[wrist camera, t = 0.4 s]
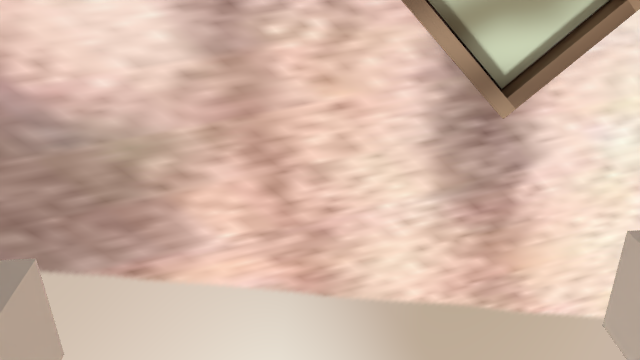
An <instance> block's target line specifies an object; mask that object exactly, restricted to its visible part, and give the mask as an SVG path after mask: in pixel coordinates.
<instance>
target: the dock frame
mask: <svg viewBox="0 0 640 360" xmlns="http://www.w3.org/2000/svg"><path fill="white" fill-rule="evenodd" d="M402 1H403V3H404V4H405V5H406V6H407V7H408V9H409V10H410V11H411V12H412V13H413V14H414V16H415V17H416V18H417V19H418V20H419V21H420V23H421V24H422V25H423V26H424V27H425V28H426V30H427V31H428V32H429V33H430V34H431V35H432V37H433V38H434V39H435V40H436V41H437V43H438V44H439V45H440V46H441V47H442V48H443V50H444V51H445V52H446V53H447V54H448V55H449V57H450V58H451V59H452V60H453V61H454V62H455V64H456V65H457V66H458V67H459V68H460V69H461V71H462V72H463V73H464V74H465V75H466V77H467V78H468V79H469V80H470V81H471V82H472V84H473V85H474V86H475V87H476V88H477V89H478V91H479V92H480V93H481V94H482V95H483V96H484V98H485V99H486V100H487V101H488V102H489V103H490V105H491V106H492V107H493V108H494V109H495V111H496V112H497V113H498V114H499V115H500V116H501V117H502V118H503V119H504V118H505V117H506V116H508V115H509V114H510V113H511V112H513V111H514V110H515V109H516V108H518V107H519V106H520V105H521V104H522V103H524V102H525V101H526V100H527V99H529V98H530V97H531V96H532V95H534V94H535V93H536V92H537V91H539V90H540V89H541V88H542V87H544V86H545V85H546V84H547V83H549V82H550V81H551V80H552V79H553V78H555V77H556V76H557V75H558V74H560V73H561V72H562V71H563V70H565V69H566V68H567V67H568V66H570V65H571V64H572V63H573V62H575V61H576V60H577V59H578V58H579V57H581V56H582V55H583V54H584V53H586V52H587V51H588V50H589V49H591V48H592V47H593V46H594V45H596V44H597V43H598V42H599V41H601V40H602V39H603V38H604V37H605V36H607V35H608V34H609V33H610V32H612V31H613V30H614V29H615V28H617V27H618V26H619V25H620V24H622V23H623V22H624V21H625V20H627V19H628V18H629V17H630V16H632V15H633V14H634V13H635V12H636V11H638V10H639V9H640V0H610V1H609V0H428V1H429V2H430V3H431V5H432V6H433V7H434V8H435V9H436V11H437V12H438V13H439V14H440V15H441V17H442V18H443V19H444V20H445V21H446V23H447V24H448V25H449V26H450V27H451V29H452V30H453V31H454V32H455V33H456V35H457V36H458V37H459V38H460V39H461V41H462V42H463V43H464V44H465V45H466V47H467V48H468V49H469V50H470V52H471V53H472V54H473V55H474V56H475V58H476V59H477V60H478V61H479V62H480V64H481V65H482V66H483V67H484V68H485V70H486V71H487V72H488V73H489V74H490V76H491V77H492V78H493V79H494V80H495V82H496V83H497V84H498V85H499V86H500V88H503V87H504V86H506V85H507V84H508V83H509V82H510V83H509V84H508V85H507V86H506V87H504V88H503V89H502V90H501V91H500V90H499V88H498V87H497V86H496V85H495V84H494V82H493V81H492V80H491V79H490V78H489V76H488V75H487V74H486V73H485V72H484V70H483V69H482V68H481V67H480V66H479V64H478V63H477V62H476V61H475V60H474V58H473V57H472V56H471V55H470V54H469V52H468V51H467V50H466V49H465V48H464V46H463V45H462V44H461V43H460V42H459V40H458V39H457V38H456V37H455V36H454V34H453V33H452V32H451V31H450V30H449V28H448V27H447V26H446V25H445V24H444V22H443V21H442V20H441V19H440V18H439V16H438V15H437V14H436V13H435V12H434V10H433V9H432V8H431V7H430V6H429V5H428V3H427V2H426V1H425V0H402ZM607 1H609V2H607ZM606 2H607V3H606ZM605 3H606V4H605ZM604 4H605V5H604ZM603 5H604V6H603ZM601 6H603V7H601ZM600 7H601V8H600ZM599 8H600V9H599ZM598 9H599V10H598ZM596 10H598V11H597V12H595V11H596ZM594 12H595V13H594ZM593 13H594V14H593ZM592 14H593V15H592ZM590 15H592V16H590ZM589 16H590V17H589ZM588 17H589V18H588ZM587 18H588V19H587ZM586 19H587V20H586ZM584 20H586V21H584ZM583 21H584V22H583ZM582 22H583V23H582ZM581 23H582V24H581ZM580 24H581V25H580ZM578 25H580V26H578ZM577 26H578V27H577ZM576 27H577V28H576ZM575 28H576V29H575ZM573 29H575V30H573ZM572 30H573V31H572ZM571 31H572V32H571ZM570 32H571V33H570ZM569 33H570V34H569ZM567 34H569V35H567ZM566 35H567V36H566ZM565 36H566V37H565ZM564 37H565V38H564ZM563 38H564V39H563ZM561 39H563V40H561ZM560 40H561V41H560ZM559 41H560V42H559ZM558 42H559V43H558ZM557 43H558V44H557ZM555 44H557V45H555ZM554 45H555V46H554ZM553 46H554V47H553ZM552 47H553V48H552ZM550 48H552V49H550ZM549 49H550V50H549ZM548 50H549V51H548ZM547 51H548V52H547ZM546 52H547V53H546ZM544 53H546V54H544ZM543 54H544V55H543ZM542 55H543V56H542ZM541 56H542V57H541ZM540 57H541V58H540ZM538 58H540V59H538ZM537 59H538V60H537ZM536 60H537V61H536ZM535 61H536V62H535ZM534 62H535V63H534ZM532 63H533V64H532ZM531 64H532V65H531ZM530 65H531V66H530ZM529 66H530V67H529ZM527 67H529V68H527ZM526 68H527V69H526ZM525 69H526V70H525ZM524 70H525V71H524ZM523 71H524V72H523ZM521 72H523V73H521ZM520 73H521V74H520ZM519 74H520V75H519ZM518 75H519V76H518ZM517 76H518V77H517ZM515 77H517V78H515ZM514 78H515V79H514ZM513 79H514V80H513ZM512 80H513V81H512ZM511 81H512V82H511Z"/></svg>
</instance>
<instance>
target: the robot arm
mask: <svg viewBox="0 0 640 360" xmlns="http://www.w3.org/2000/svg"><path fill="white" fill-rule="evenodd" d="M603 327H604V328H605V330H606V331H607V332H608V333H609V335H610V336H611V338H612V339H613V341H614V342H615V344H616V345H617V346H618V348H619V349H620V351H621V352H622V353H623V355H624V356H625V358H626V359H627V360H640V231H627V234H626V238H625V242H624V246H623V250H622V253H621V257H620V261H619V265H618V269H617V273H616V276H615V280H614V284H613V288H612V292H611V295H610V299H609V303H608V307H607V311H606V315H605V318H604V322H603ZM63 355H64V352H63V349H62V345H61V342H60V339H59V335H58V332H57V328H56V325H55V322H54V318H53V315H52V312H51V308H50V305H49V301H48V298H47V294H46V291H45V288H44V284H43V281H42V277H41V274H40V271H39V267H38V264H37V260H36V259H17V260H0V360H61V359H62V357H63Z"/></svg>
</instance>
